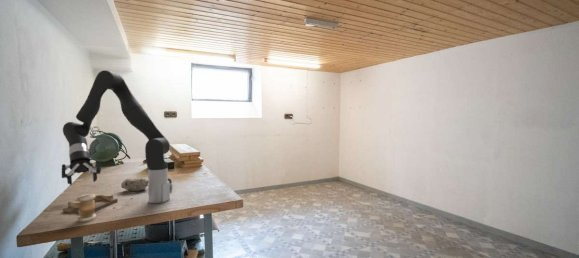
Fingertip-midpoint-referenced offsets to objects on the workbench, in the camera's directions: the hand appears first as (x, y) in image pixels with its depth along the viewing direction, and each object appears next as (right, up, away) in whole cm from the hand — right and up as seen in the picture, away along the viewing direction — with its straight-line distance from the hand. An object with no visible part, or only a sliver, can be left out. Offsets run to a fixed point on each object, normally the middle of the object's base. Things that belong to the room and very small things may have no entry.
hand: (83, 182), depth 117 cm
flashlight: (+20, -13, +40) cm, 46 cm away
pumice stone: (+2, -13, +36) cm, 38 cm away
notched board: (-2, -14, +8) cm, 16 cm away
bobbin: (+7, -14, -7) cm, 18 cm away
